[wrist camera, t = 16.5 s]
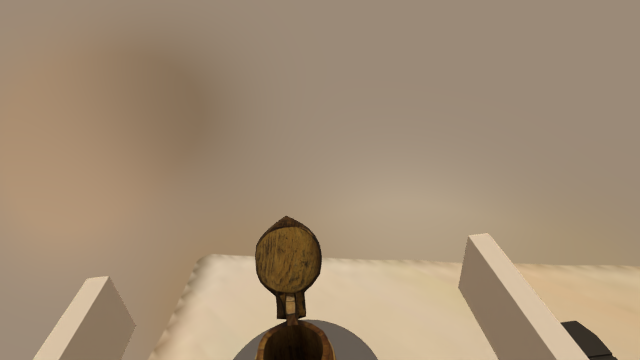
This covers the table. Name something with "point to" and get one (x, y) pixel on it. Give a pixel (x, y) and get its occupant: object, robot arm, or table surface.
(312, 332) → the wooden mug
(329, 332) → the charcoal plinth
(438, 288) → the table surface
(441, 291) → the table surface
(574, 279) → the table surface
